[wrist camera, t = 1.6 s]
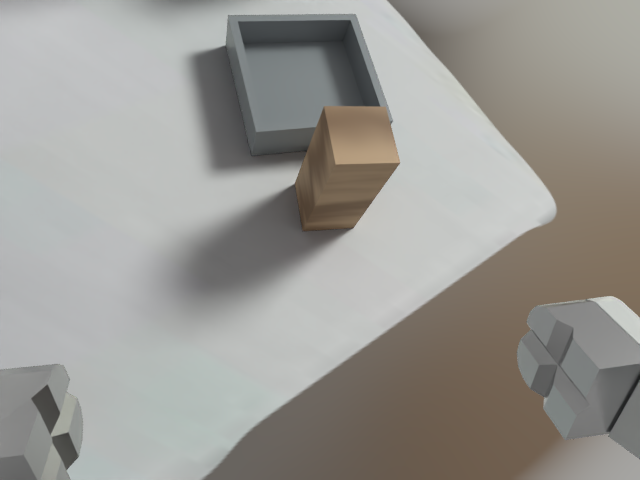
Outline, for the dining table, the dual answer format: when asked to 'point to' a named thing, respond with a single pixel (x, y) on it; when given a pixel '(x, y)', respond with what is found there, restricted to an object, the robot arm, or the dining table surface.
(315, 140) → the wooden block
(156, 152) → the dining table surface
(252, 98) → the bin
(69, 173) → the dining table surface
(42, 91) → the dining table surface
